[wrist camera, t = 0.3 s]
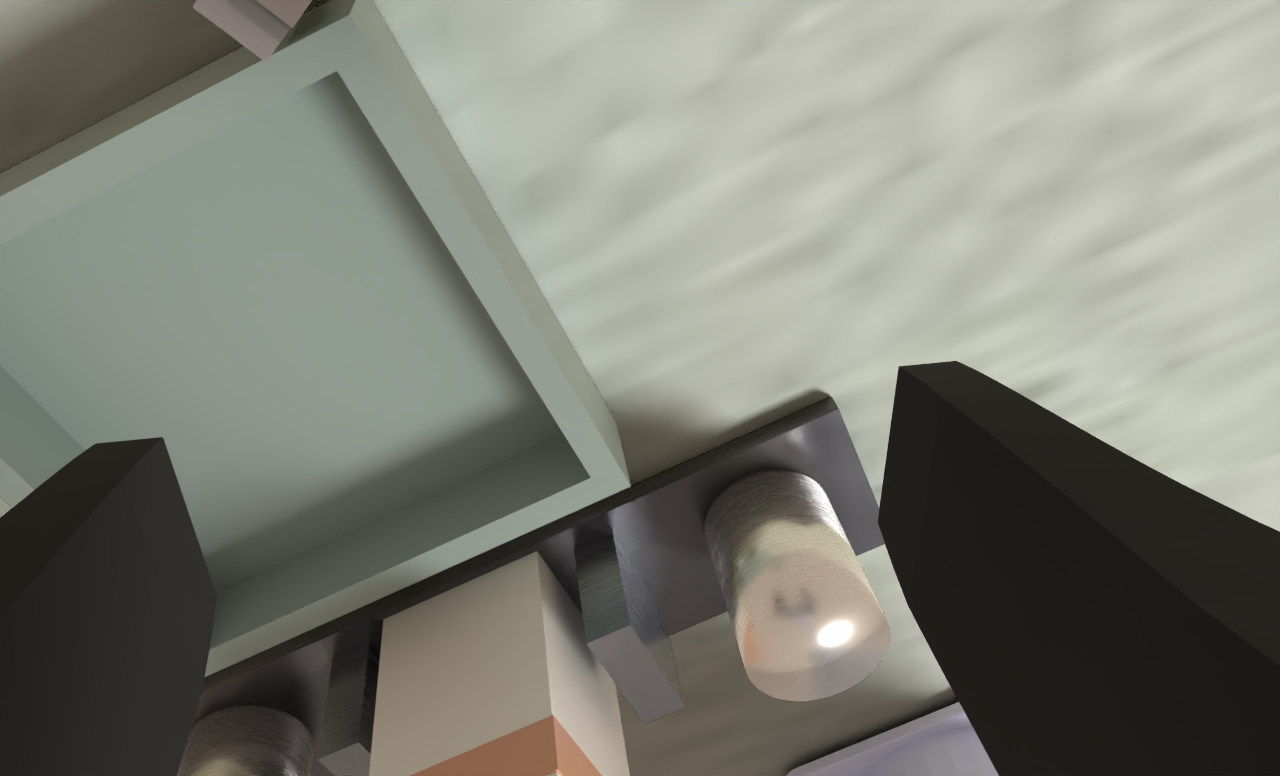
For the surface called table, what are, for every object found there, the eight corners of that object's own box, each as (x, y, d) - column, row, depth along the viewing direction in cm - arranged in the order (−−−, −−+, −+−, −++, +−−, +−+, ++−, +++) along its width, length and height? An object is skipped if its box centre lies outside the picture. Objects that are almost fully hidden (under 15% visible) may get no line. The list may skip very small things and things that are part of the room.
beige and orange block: (613, 655, 25) (649, 881, 20) (467, 717, 25) (468, 954, 20) (538, 548, 23) (558, 773, 18) (380, 618, 23) (357, 857, 18)
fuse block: (885, 526, 25) (959, 666, 21) (224, 811, 27) (184, 984, 23) (831, 396, 22) (905, 527, 19) (110, 719, 24) (46, 895, 21)
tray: (616, 421, 22) (630, 486, 20) (222, 601, 23) (201, 679, 21) (362, -17, 16) (349, 14, 15) (-137, 245, 18) (-211, 306, 16)
